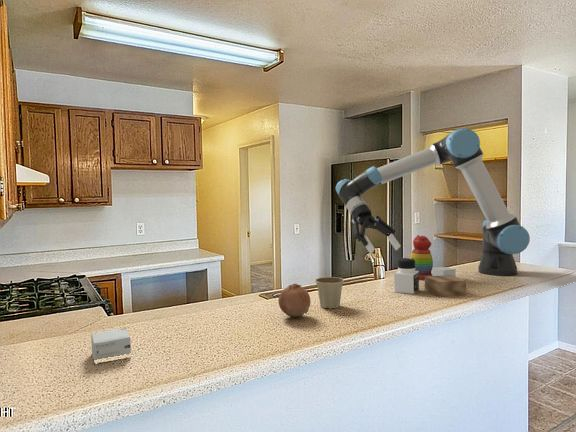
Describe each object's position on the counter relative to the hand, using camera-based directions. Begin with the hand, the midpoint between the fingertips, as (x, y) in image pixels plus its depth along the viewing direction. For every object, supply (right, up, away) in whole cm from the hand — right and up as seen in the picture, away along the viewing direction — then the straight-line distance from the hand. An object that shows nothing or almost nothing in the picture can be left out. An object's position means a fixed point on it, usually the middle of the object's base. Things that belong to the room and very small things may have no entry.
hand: (385, 249), depth 156 cm
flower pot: (-24, -16, -25) cm, 39 cm away
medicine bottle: (+6, -15, -8) cm, 18 cm away
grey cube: (+23, -13, +3) cm, 27 cm away
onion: (-35, -17, -36) cm, 54 cm away
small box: (-78, -20, -62) cm, 102 cm away
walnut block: (+18, -14, -11) cm, 26 cm away
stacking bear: (+19, -13, +14) cm, 27 cm away
